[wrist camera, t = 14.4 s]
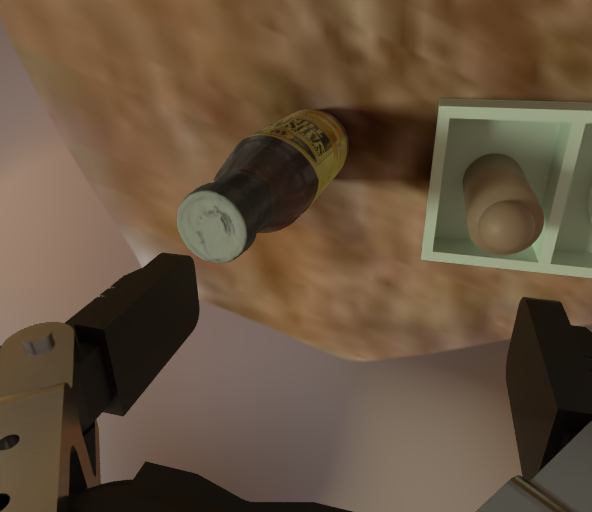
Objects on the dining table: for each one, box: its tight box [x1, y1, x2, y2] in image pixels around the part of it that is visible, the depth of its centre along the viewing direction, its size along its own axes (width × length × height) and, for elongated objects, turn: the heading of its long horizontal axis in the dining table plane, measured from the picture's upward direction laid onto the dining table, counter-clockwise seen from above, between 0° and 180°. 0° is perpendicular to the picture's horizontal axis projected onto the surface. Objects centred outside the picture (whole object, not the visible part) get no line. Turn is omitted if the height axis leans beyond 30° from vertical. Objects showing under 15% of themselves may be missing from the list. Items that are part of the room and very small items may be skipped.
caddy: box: [421, 98, 592, 278], centre depth 32 cm, size 12×18×12 cm, turn 90°
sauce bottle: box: [177, 109, 349, 263], centre depth 33 cm, size 7×6×20 cm
